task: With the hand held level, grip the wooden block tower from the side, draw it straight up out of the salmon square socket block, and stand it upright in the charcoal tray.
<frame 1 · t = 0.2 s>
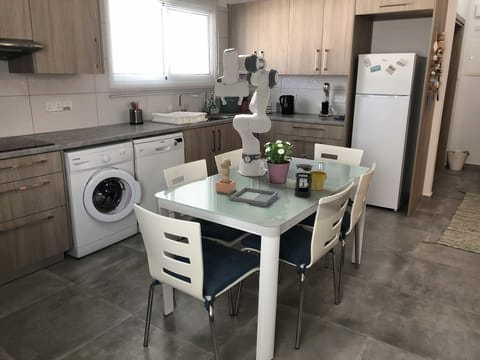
hand: (232, 104, 224), 48 cm above the table, tool pointing down, fingers open, 8 cm apart
charcoal tray: (254, 198, 213), on the table
yellow cup: (316, 189, 233), on the table
wooden block tower: (225, 190, 224), point 1 cm above the table, touching salmon square socket block
french press: (303, 195, 221), on the table
salmon square socket block: (225, 191, 224), on the table
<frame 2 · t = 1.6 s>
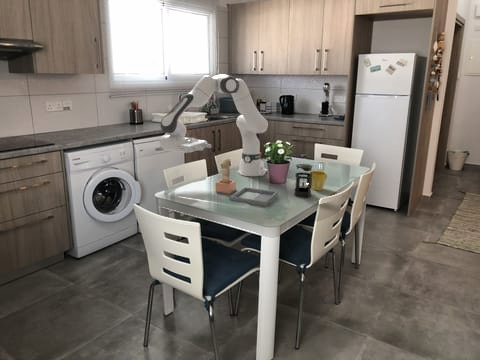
hand: (206, 147, 222), 24 cm above the table, tool horizontal, fingers open, 8 cm apart
nothing on the table moved.
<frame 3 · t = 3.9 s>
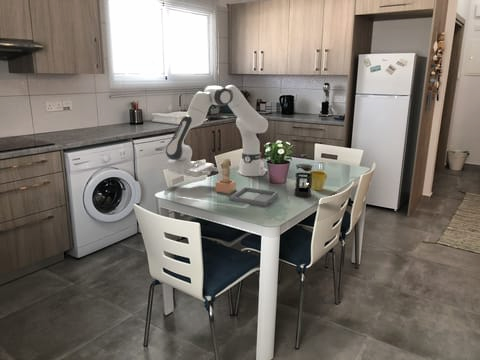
hand: (213, 171, 224), 11 cm above the table, tool horizontal, fingers open, 8 cm apart
nothing on the table moved.
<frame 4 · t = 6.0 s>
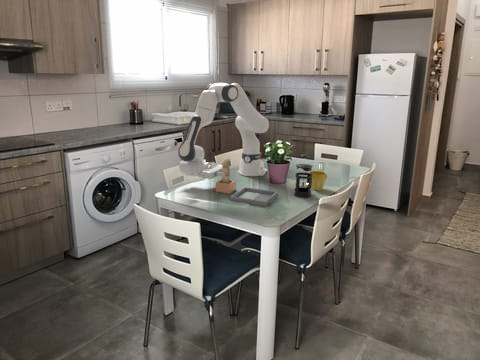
hand: (227, 173, 221), 11 cm above the table, tool horizontal, fingers closed on wooden block tower, 4 cm apart
wooden block tower: (225, 190, 224), point 1 cm above the table, touching gripper, salmon square socket block
everything else where it was.
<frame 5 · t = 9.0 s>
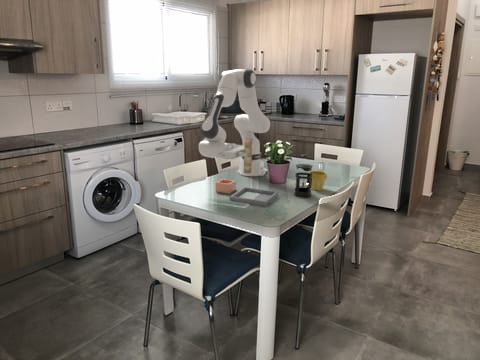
hand: (249, 153, 209), 24 cm above the table, tool horizontal, fingers closed on wooden block tower, 4 cm apart
wooden block tower: (247, 172, 212), point 14 cm above the table, touching gripper
everything else where it was.
when the fingers open (12 cm above the table, at t = 12.0 s): wooden block tower stays where it is, resting on charcoal tray.
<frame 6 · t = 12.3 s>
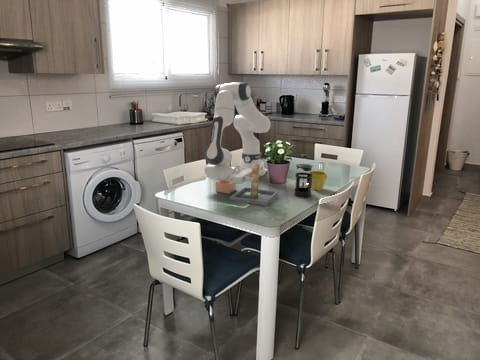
hand: (256, 177, 210), 12 cm above the table, tool horizontal, fingers open, 6 cm apart
wooden block tower: (254, 197, 213), point 1 cm above the table, touching charcoal tray
everything else where it was.
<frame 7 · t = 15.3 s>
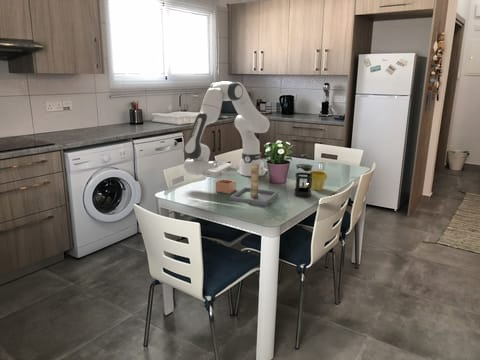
hand: (233, 171, 215), 13 cm above the table, tool horizontal, fingers open, 8 cm apart
nothing on the table moved.
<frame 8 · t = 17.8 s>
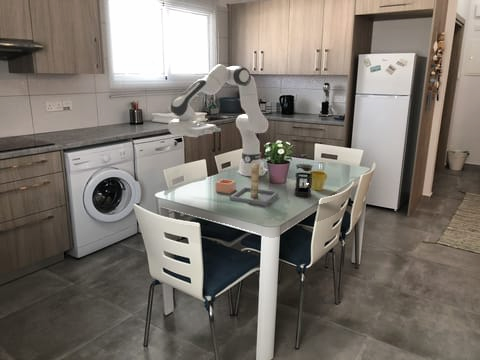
hand: (216, 131, 217), 34 cm above the table, tool horizontal, fingers open, 8 cm apart
nothing on the table moved.
at the end: wooden block tower inside the target area on the charcoal tray (0.0 cm from its centre), point 0.6 cm above the charcoal tray's base; wooden block tower tilted 0°; the gripper is holding nothing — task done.
